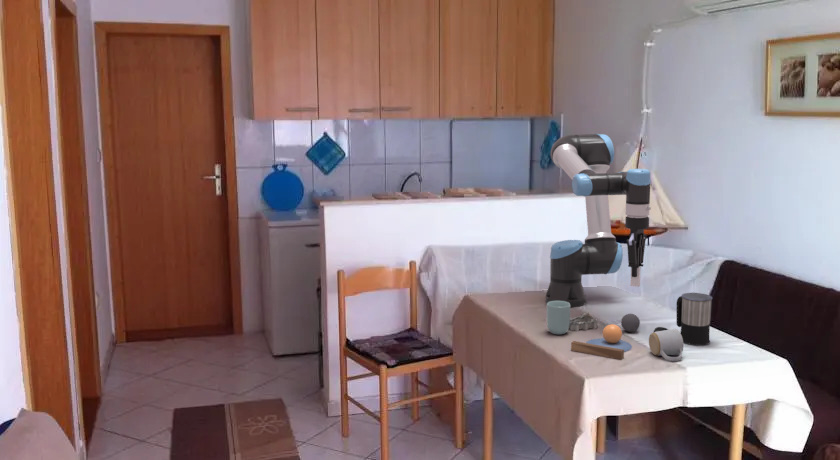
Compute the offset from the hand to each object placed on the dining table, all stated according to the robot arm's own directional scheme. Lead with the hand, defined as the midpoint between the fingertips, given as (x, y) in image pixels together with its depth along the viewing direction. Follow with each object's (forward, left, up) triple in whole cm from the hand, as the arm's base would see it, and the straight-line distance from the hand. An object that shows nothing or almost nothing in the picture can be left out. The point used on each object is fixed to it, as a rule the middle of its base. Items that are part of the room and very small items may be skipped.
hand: (635, 285), depth 257 cm
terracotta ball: (+20, 0, -11) cm, 23 cm away
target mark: (+23, 0, -14) cm, 27 cm away
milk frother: (+7, +18, -15) cm, 24 cm away
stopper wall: (+33, 0, -14) cm, 36 cm away
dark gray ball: (+5, +1, -11) cm, 13 cm away
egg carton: (+9, -15, -15) cm, 23 cm away
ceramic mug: (+23, +19, -15) cm, 33 cm away
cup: (+19, -19, -15) cm, 31 cm away
